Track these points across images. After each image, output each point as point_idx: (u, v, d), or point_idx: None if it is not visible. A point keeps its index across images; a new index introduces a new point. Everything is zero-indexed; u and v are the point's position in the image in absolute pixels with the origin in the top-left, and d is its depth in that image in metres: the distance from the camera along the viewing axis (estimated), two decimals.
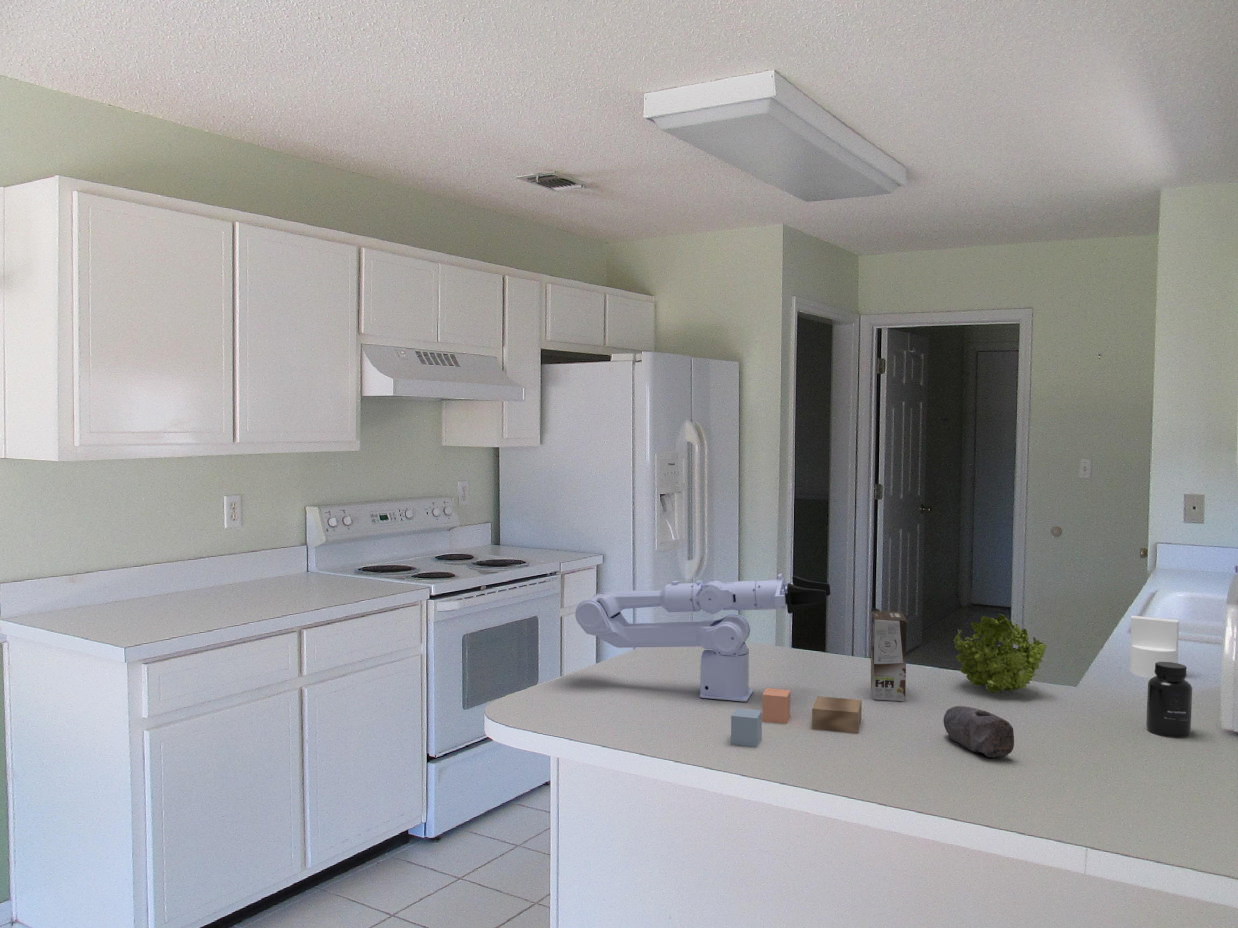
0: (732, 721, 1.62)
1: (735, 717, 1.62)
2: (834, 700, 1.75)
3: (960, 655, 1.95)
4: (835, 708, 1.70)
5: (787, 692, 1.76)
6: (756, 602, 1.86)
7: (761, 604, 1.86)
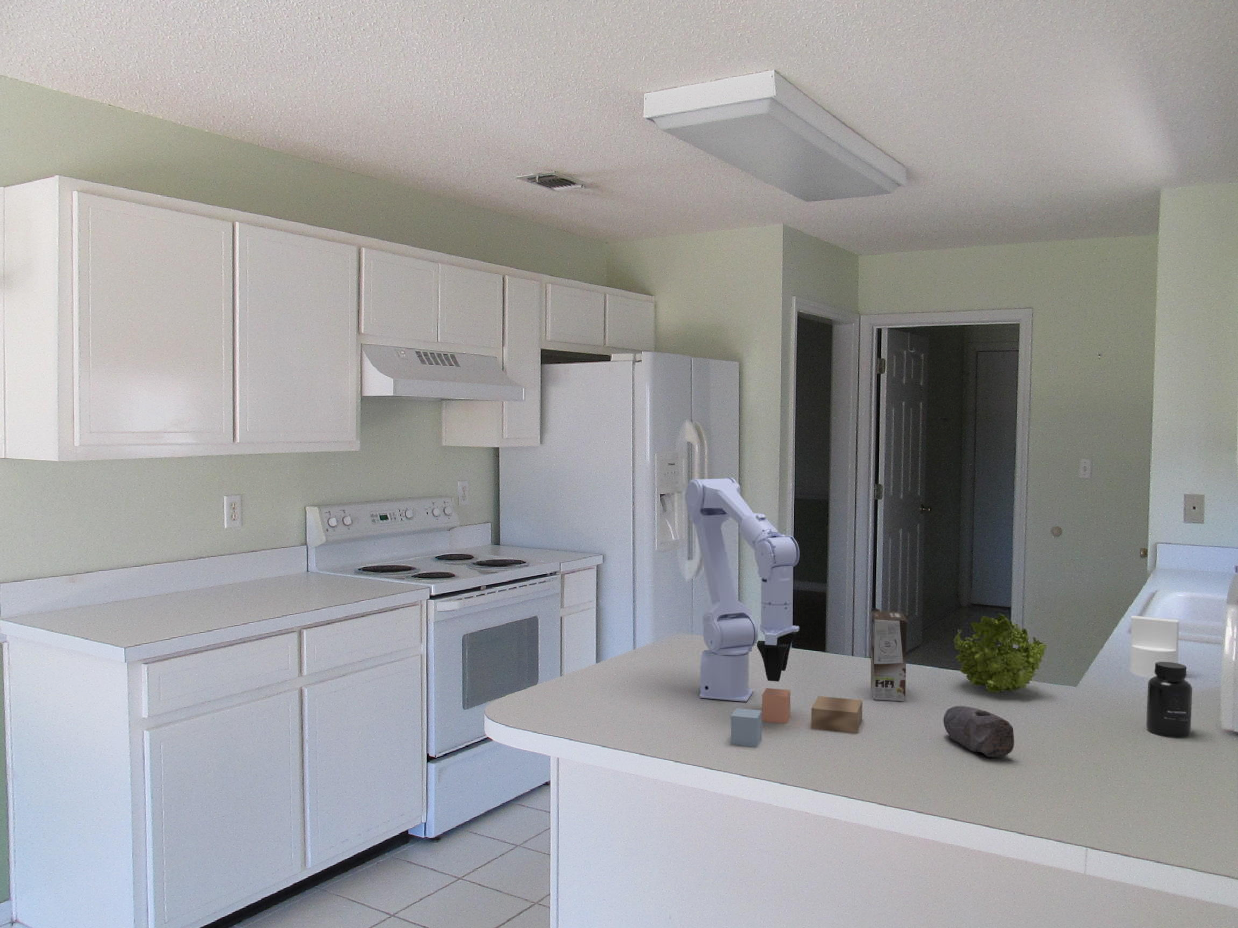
0: (732, 721, 1.62)
1: (735, 717, 1.62)
2: (835, 700, 1.75)
3: (960, 655, 1.95)
4: (834, 708, 1.70)
5: (787, 692, 1.76)
6: (769, 604, 1.73)
7: (766, 609, 1.73)
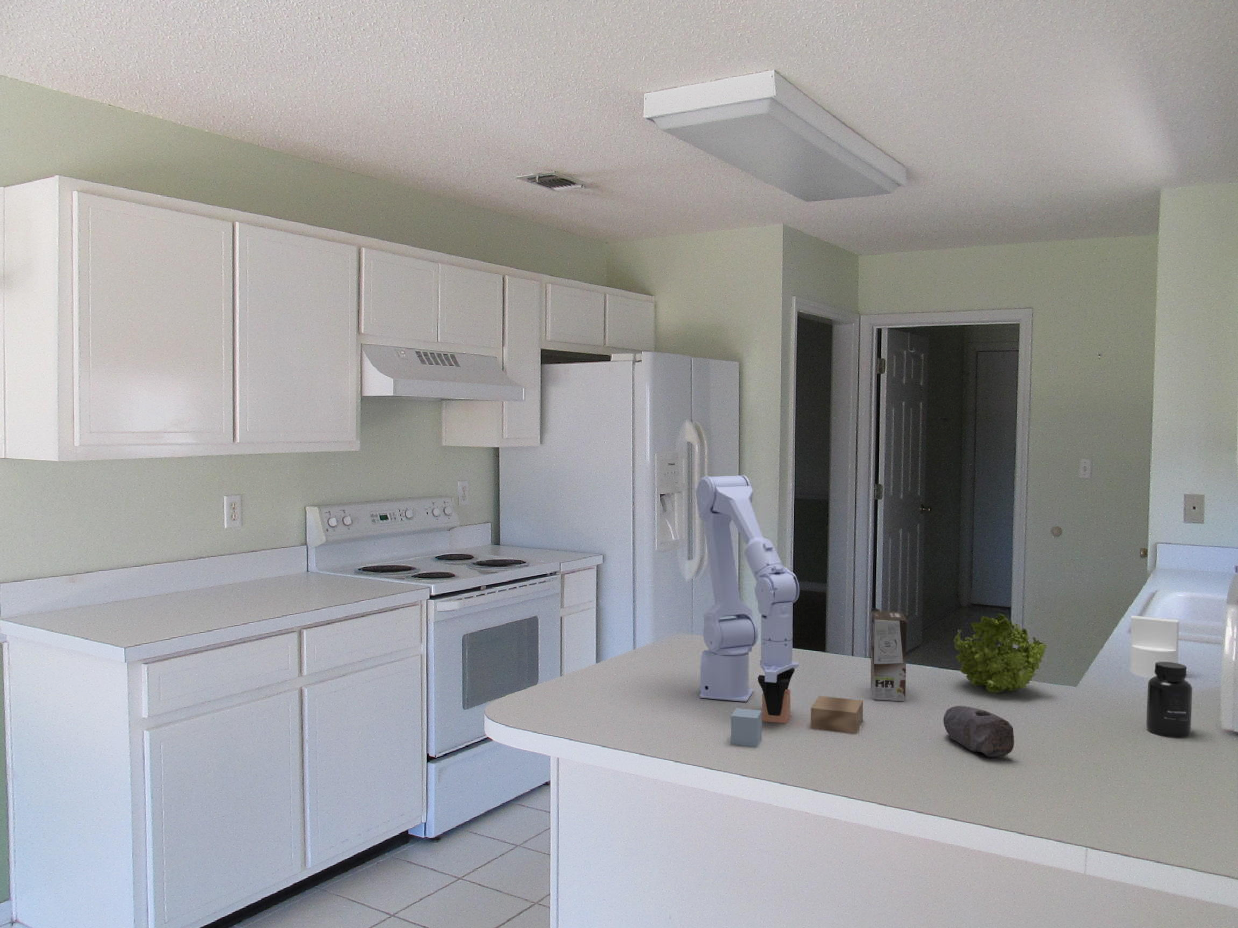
0: (732, 721, 1.62)
1: (735, 717, 1.62)
2: (835, 700, 1.75)
3: (960, 655, 1.95)
4: (834, 708, 1.70)
5: (787, 692, 1.76)
6: (769, 641, 1.73)
7: (766, 645, 1.74)
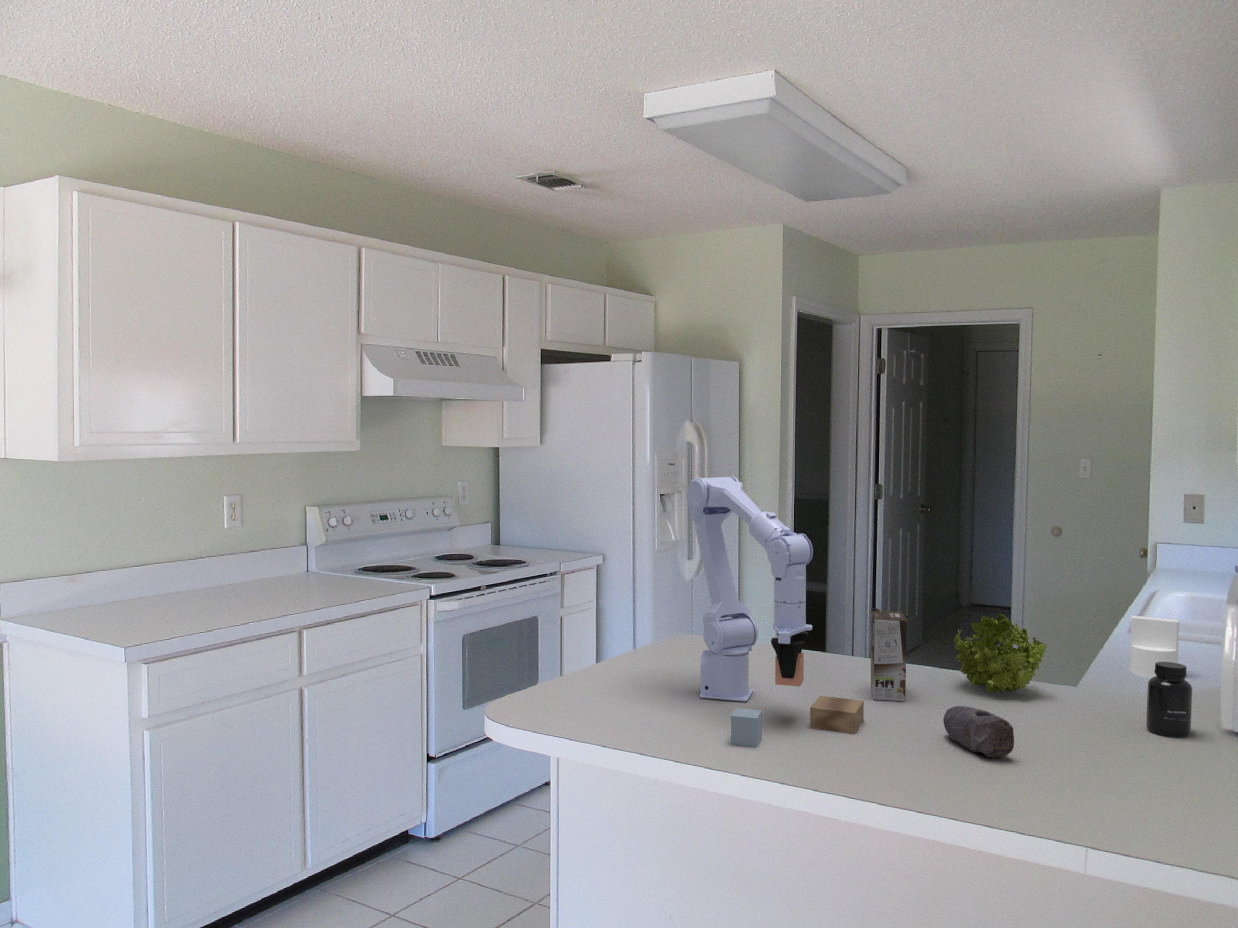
0: (732, 721, 1.62)
1: (735, 717, 1.62)
2: (835, 700, 1.75)
3: (960, 655, 1.95)
4: (833, 708, 1.70)
5: (800, 655, 1.75)
6: (782, 603, 1.72)
7: (779, 607, 1.73)
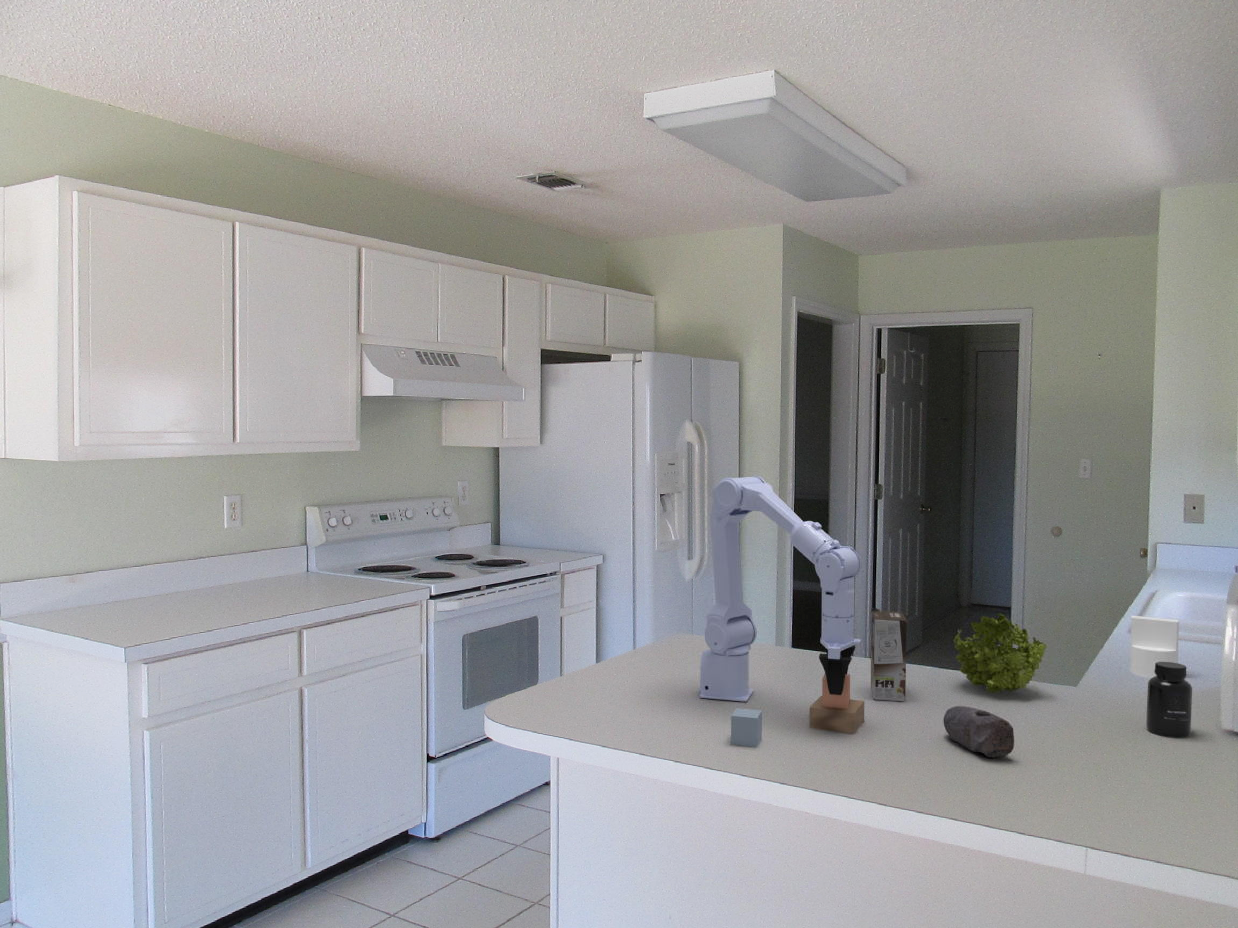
0: (732, 721, 1.62)
1: (735, 717, 1.62)
2: None
3: (960, 655, 1.95)
4: (833, 708, 1.70)
5: (847, 676, 1.73)
6: (830, 617, 1.70)
7: (828, 622, 1.70)
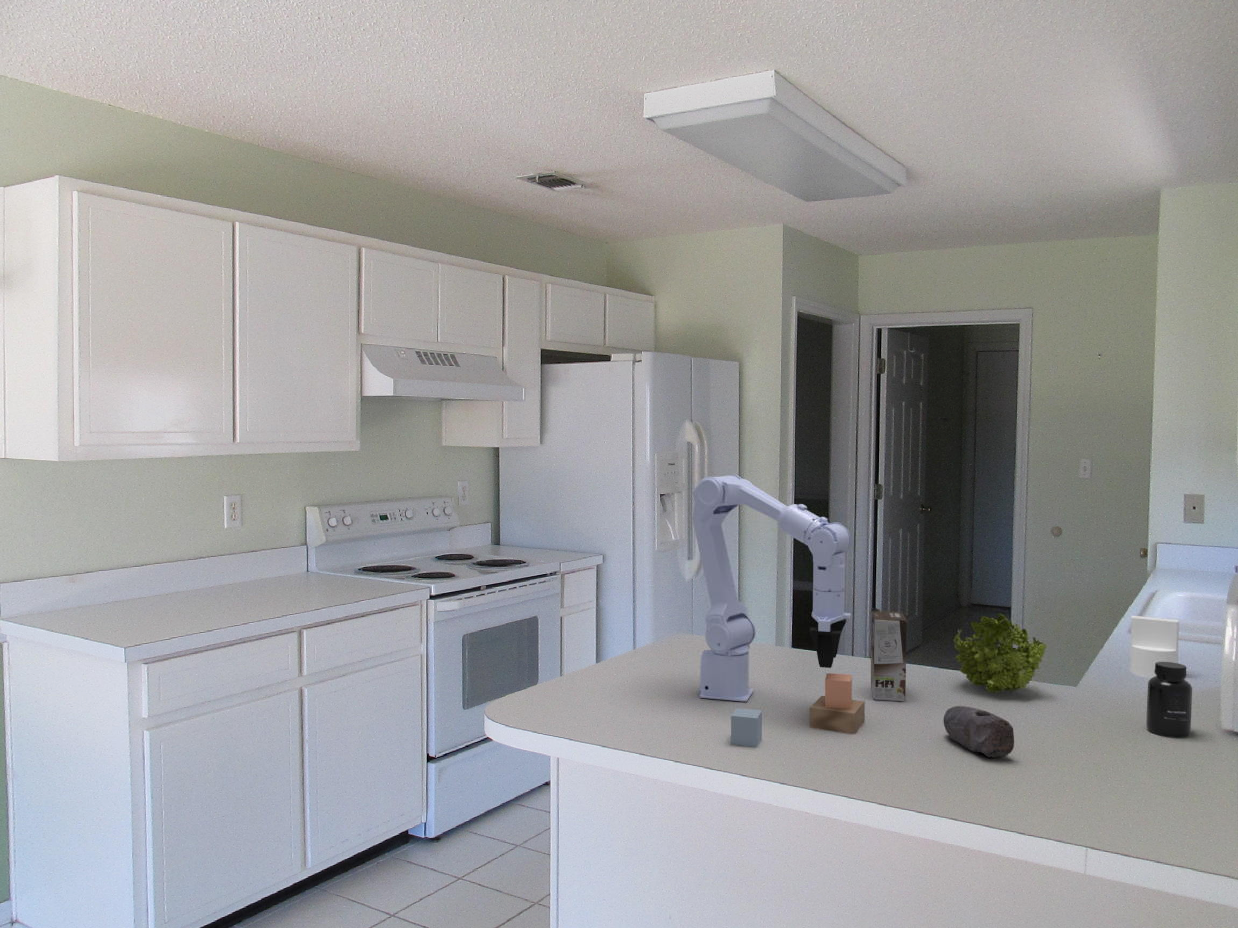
0: (732, 721, 1.62)
1: (735, 717, 1.62)
2: None
3: (960, 655, 1.95)
4: (833, 708, 1.70)
5: (849, 677, 1.72)
6: (821, 591, 1.74)
7: (819, 596, 1.74)
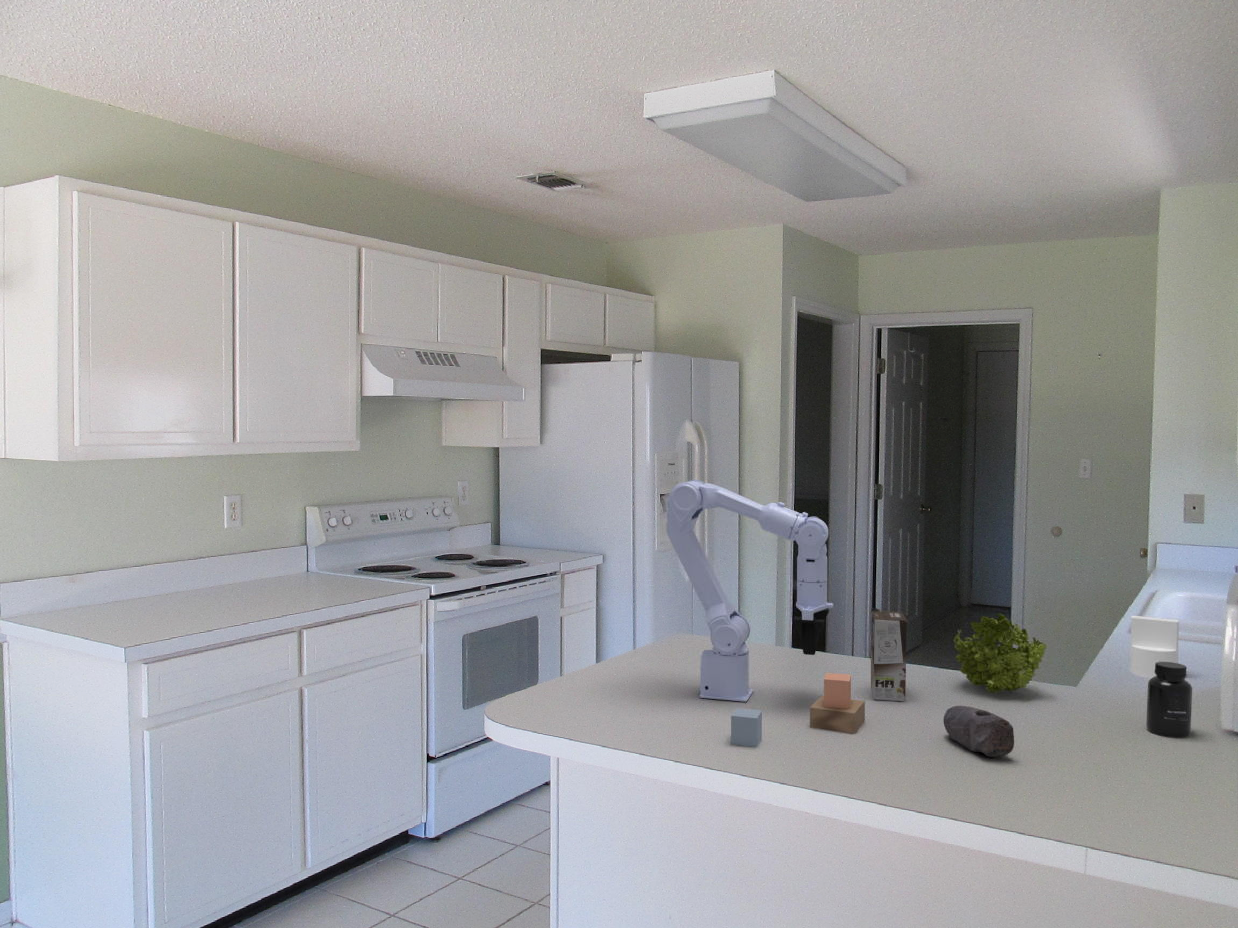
0: (732, 721, 1.62)
1: (735, 717, 1.62)
2: None
3: (960, 655, 1.95)
4: (833, 708, 1.70)
5: (848, 677, 1.73)
6: (805, 582, 1.83)
7: (802, 587, 1.83)
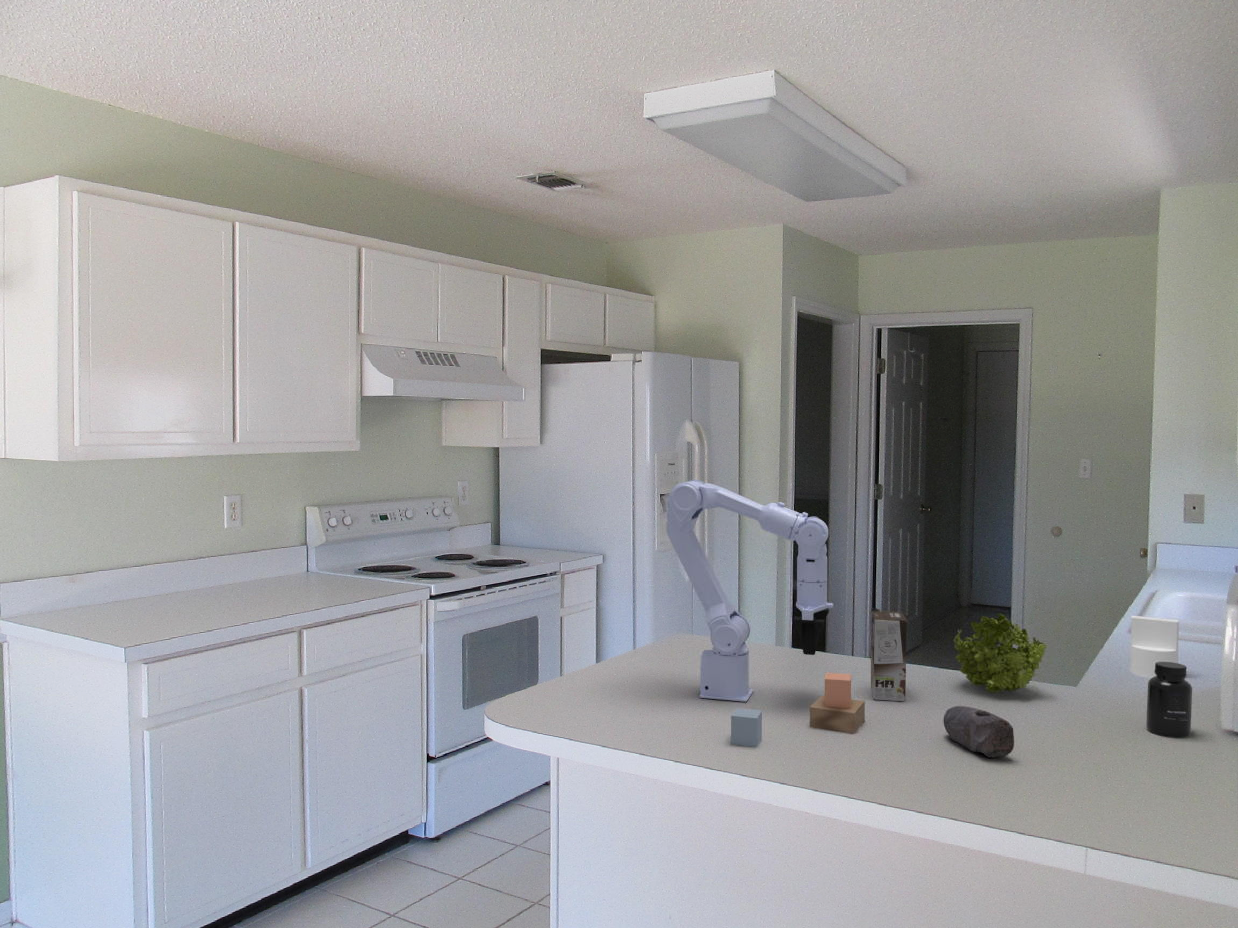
0: (732, 721, 1.62)
1: (735, 717, 1.62)
2: None
3: (960, 655, 1.95)
4: (833, 708, 1.71)
5: (849, 676, 1.73)
6: (805, 582, 1.83)
7: (802, 587, 1.83)
